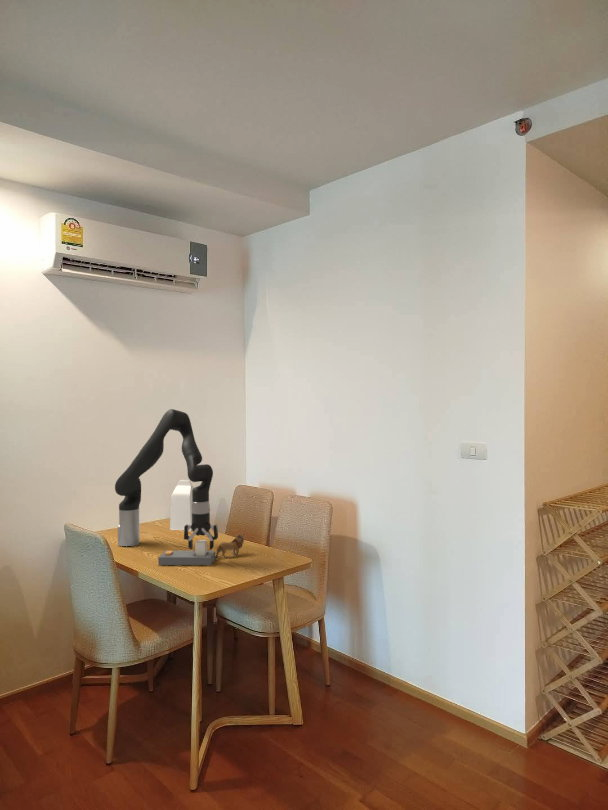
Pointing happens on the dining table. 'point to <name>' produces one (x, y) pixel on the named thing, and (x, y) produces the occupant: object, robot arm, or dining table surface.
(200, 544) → the white rectangular block
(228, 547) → the lion figurine
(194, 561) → the grey board with slot
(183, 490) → the milk
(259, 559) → the dining table surface
